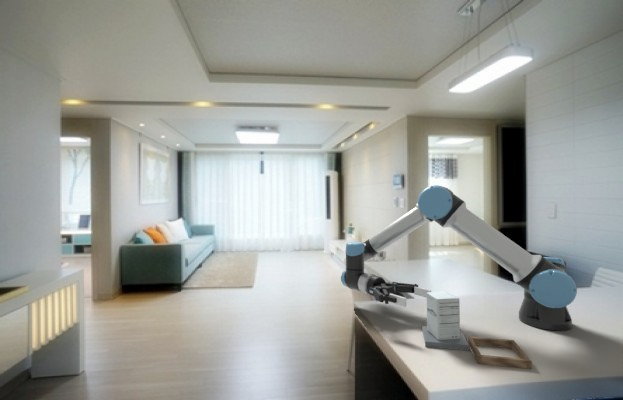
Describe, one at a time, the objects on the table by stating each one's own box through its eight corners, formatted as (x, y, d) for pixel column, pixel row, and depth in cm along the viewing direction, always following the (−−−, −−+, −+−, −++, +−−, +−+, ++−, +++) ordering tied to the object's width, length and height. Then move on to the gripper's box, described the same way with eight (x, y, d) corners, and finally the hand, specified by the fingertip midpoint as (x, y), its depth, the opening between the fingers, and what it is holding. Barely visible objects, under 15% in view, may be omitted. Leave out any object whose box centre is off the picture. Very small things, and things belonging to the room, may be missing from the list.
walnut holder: (513, 346, 94) (513, 340, 94) (531, 368, 82) (531, 361, 82) (467, 342, 97) (467, 336, 97) (478, 363, 85) (477, 355, 85)
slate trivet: (460, 333, 104) (460, 328, 104) (468, 350, 92) (468, 345, 92) (422, 330, 107) (422, 325, 107) (425, 346, 95) (425, 341, 95)
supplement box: (426, 330, 103) (425, 291, 103) (448, 329, 103) (447, 290, 103) (437, 340, 95) (436, 298, 95) (461, 339, 96) (460, 297, 96)
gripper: (393, 288, 131) (440, 302, 114) (348, 301, 117) (394, 318, 99) (393, 270, 131) (439, 281, 114) (348, 280, 117) (393, 294, 99)
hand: (418, 298), depth 107 cm, fingers open, 13 cm apart
